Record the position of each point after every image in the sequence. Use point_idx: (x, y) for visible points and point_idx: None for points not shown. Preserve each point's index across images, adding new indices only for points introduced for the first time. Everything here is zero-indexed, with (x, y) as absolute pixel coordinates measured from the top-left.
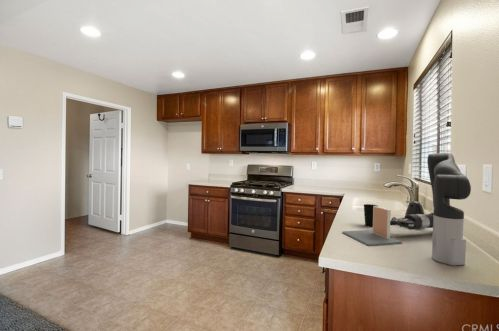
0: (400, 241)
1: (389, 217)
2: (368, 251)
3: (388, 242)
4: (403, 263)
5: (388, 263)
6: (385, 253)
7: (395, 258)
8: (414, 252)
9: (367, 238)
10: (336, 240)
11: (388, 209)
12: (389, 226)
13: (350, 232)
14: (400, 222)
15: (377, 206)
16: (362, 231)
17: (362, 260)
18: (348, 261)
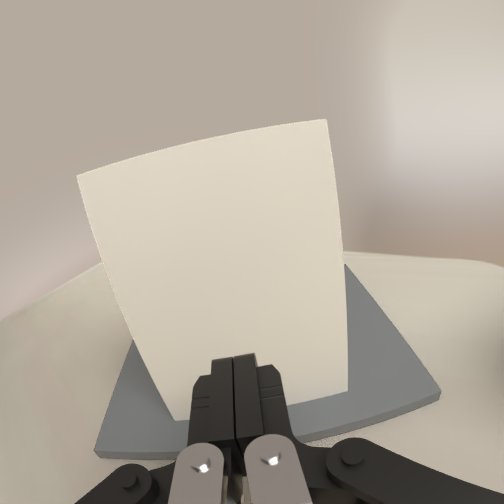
0: (103, 445)
1: (106, 255)
2: None
3: (124, 374)
4: (21, 329)
5: (45, 306)
6: (77, 325)
7: (43, 329)
8: (15, 409)
9: None
10: None
11: (98, 168)
12: (136, 338)
13: None
14: (127, 472)
15: (284, 124)
16: (366, 328)
17: (90, 276)
18: None
